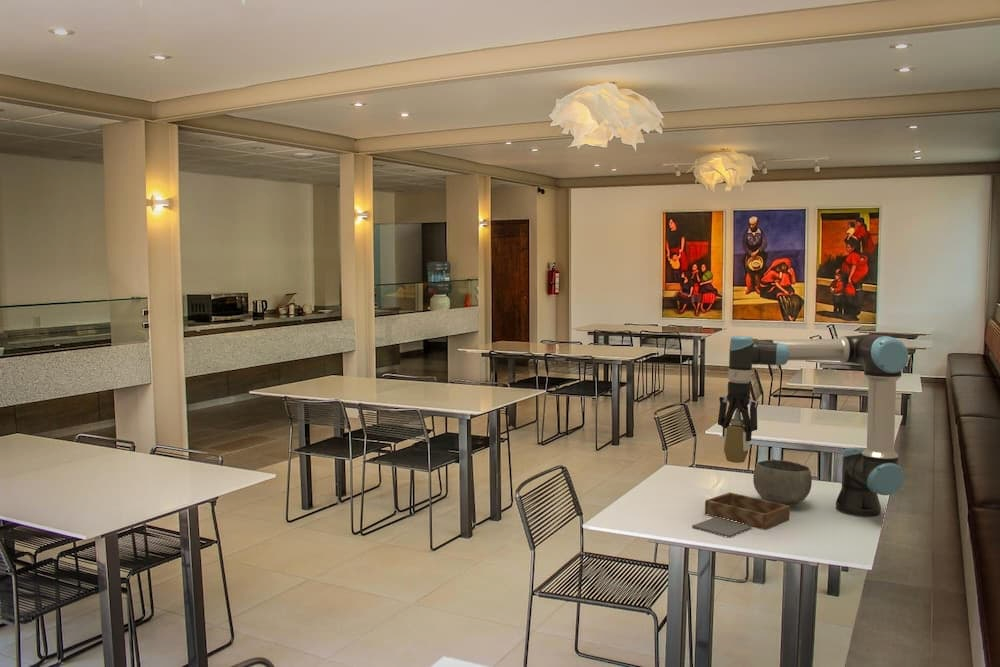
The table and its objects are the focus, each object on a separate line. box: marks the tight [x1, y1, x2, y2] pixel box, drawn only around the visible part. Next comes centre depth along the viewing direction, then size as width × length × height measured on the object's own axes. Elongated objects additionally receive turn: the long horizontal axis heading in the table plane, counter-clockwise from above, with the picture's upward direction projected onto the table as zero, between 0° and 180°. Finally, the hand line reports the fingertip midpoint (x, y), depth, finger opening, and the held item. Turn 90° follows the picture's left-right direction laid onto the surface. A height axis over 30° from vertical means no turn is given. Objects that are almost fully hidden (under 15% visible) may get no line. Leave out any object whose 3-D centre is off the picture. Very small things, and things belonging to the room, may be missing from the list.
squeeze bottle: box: [723, 408, 749, 464], centre depth 283 cm, size 8×8×18 cm
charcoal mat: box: [691, 517, 752, 538], centre depth 278 cm, size 14×14×1 cm
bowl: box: [752, 459, 813, 506], centre depth 308 cm, size 20×20×15 cm
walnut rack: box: [704, 491, 791, 531], centre depth 291 cm, size 23×16×5 cm
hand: (736, 448), depth 283 cm, fingers closed on squeeze bottle, 6 cm apart
